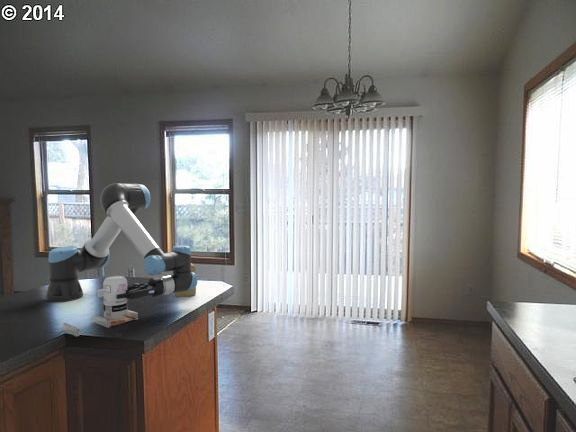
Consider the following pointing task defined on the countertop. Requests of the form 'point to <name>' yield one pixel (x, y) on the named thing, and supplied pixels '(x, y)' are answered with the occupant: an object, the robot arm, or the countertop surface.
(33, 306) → the countertop surface
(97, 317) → the rack with upright dividers
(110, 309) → the sparkling water can
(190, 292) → the cheese
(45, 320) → the countertop surface
